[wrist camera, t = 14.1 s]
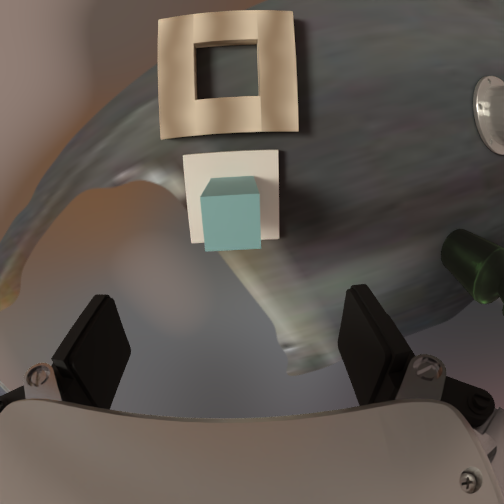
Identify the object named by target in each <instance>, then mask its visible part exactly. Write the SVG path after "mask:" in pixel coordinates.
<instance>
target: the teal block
mask: <svg viewBox="0 0 504 504" xmlns="http://www.w3.org/2000/svg"><path fill="white" fill-rule="evenodd" d="M200 202H201V213H202V224H203V234H204V243H205V251H223V250H242V249H261V228H260V194H259V191H258V188H257V185H256V182H255V179H254V176H239V177H221V178H211V179H210V181H209V182H208V184H207V186H206V188H205V189H204V191H203V193H202V194H201V196H200Z"/></svg>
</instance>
